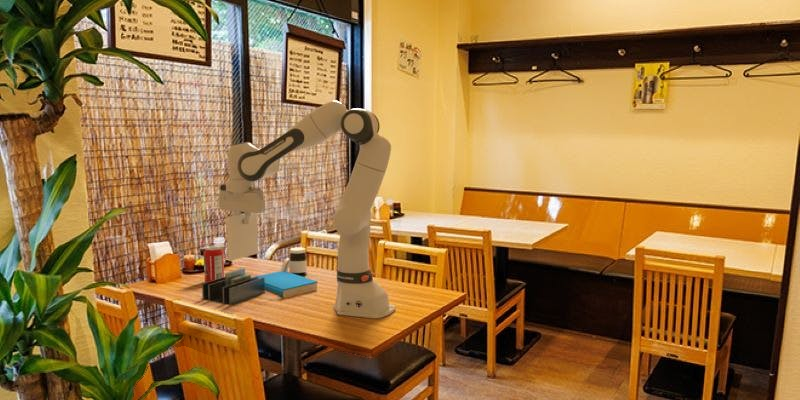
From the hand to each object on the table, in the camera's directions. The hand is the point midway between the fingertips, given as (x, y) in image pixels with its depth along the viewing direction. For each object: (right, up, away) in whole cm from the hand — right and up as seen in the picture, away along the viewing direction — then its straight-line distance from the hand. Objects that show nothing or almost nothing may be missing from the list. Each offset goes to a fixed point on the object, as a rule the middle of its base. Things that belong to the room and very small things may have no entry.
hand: (242, 223), depth 202 cm
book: (+10, -28, +22) cm, 37 cm away
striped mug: (+11, -25, +44) cm, 52 cm away
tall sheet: (0, -13, +1) cm, 13 cm away
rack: (-5, -29, +6) cm, 30 cm away
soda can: (-20, -27, +29) cm, 44 cm away
